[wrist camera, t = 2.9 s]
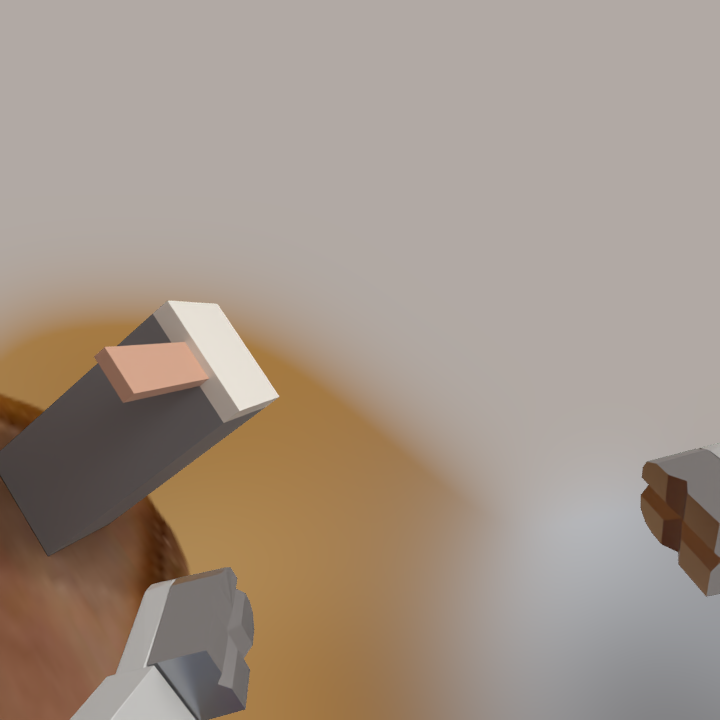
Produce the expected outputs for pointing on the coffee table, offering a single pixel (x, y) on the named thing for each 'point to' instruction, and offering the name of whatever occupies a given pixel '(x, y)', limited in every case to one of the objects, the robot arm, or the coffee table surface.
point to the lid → (191, 362)
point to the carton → (105, 451)
